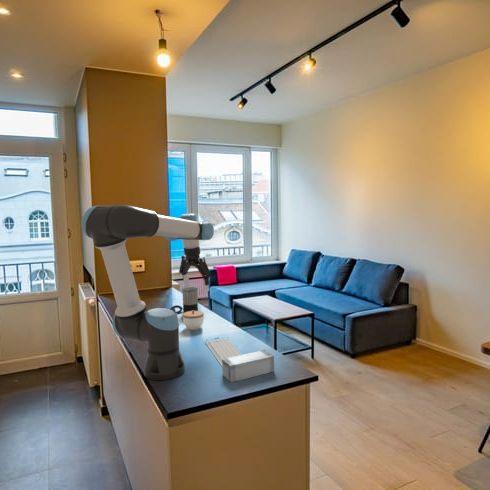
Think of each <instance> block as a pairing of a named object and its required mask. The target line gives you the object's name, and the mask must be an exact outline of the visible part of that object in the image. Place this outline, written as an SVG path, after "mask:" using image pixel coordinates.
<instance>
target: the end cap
mask: <svg viewBox="0 0 490 490" xmlns="http://www.w3.org/2000/svg"><path fill="white" fill-rule="evenodd" d="M221 368H222V376H223V377H224V378H225V379H226V380H228V381H229V383H234V382H238V381H242V380H246V379H249V378H254V377H257V376H262V375H265V374H269V373H274V372H275V355H273V354H272V353H270V352H268V351H267V350H266V349H263V350H258V351H253V352H249V353H244V354H242V355H239V356H234V357H230V358H225V359H222V366H221Z"/></svg>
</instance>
